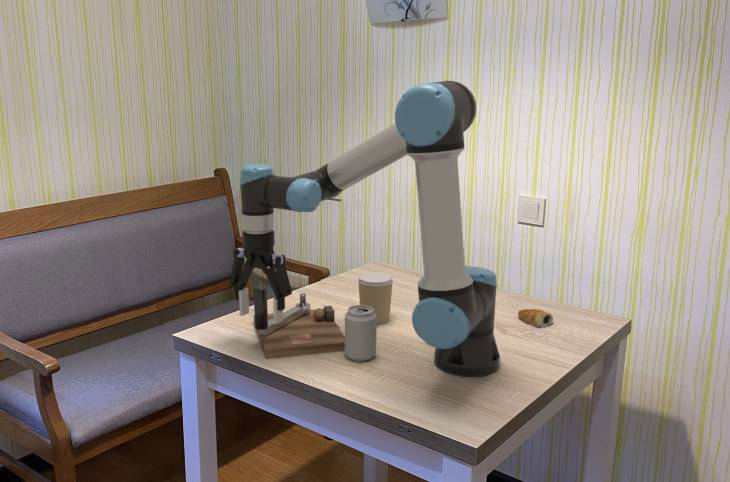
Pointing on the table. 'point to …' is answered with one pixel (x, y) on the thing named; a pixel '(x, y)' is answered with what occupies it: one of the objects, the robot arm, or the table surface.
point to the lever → (269, 326)
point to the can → (360, 333)
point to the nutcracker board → (304, 335)
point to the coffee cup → (376, 294)
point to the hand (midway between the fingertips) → (261, 318)
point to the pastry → (535, 317)
